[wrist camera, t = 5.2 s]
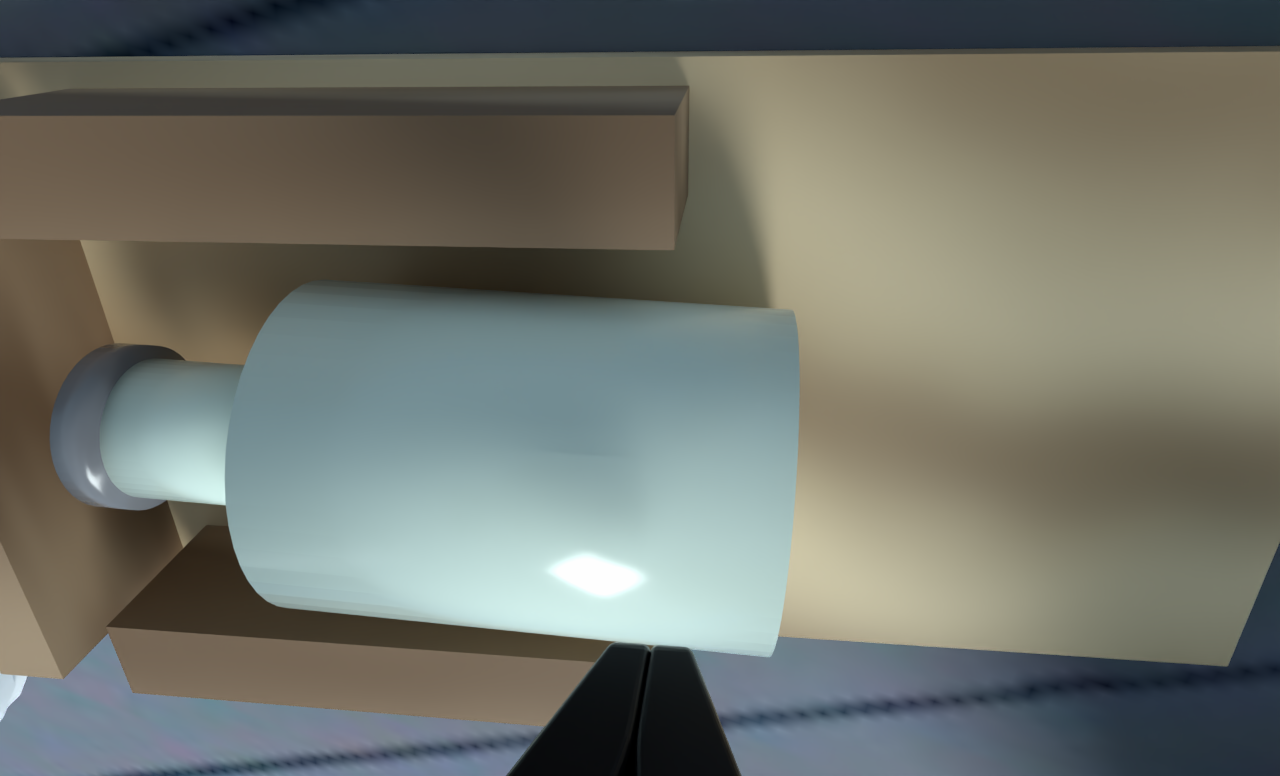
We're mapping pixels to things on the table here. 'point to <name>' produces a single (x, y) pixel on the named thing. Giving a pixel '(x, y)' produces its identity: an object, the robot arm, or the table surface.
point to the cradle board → (689, 273)
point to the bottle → (474, 458)
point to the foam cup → (9, 690)
